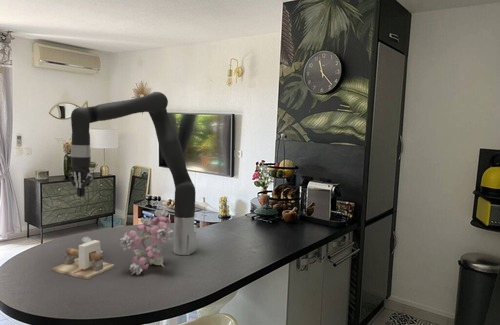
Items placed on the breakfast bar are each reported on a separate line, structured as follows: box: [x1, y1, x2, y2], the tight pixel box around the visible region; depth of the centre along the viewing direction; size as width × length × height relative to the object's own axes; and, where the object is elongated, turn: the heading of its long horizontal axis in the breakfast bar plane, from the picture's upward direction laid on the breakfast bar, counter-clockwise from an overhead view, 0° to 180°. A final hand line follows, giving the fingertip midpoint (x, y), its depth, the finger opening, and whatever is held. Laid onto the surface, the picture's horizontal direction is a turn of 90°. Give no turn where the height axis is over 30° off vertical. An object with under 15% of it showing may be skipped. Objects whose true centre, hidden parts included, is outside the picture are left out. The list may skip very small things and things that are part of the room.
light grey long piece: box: [80, 236, 104, 257], centre depth 165 cm, size 5×7×25 cm
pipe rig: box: [51, 247, 115, 280], centre depth 145 cm, size 18×14×7 cm
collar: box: [78, 239, 101, 269], centre depth 143 cm, size 3×8×9 cm, turn 159°
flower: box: [118, 208, 174, 275], centre depth 148 cm, size 20×22×25 cm
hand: (80, 196), depth 154 cm, fingers closed
